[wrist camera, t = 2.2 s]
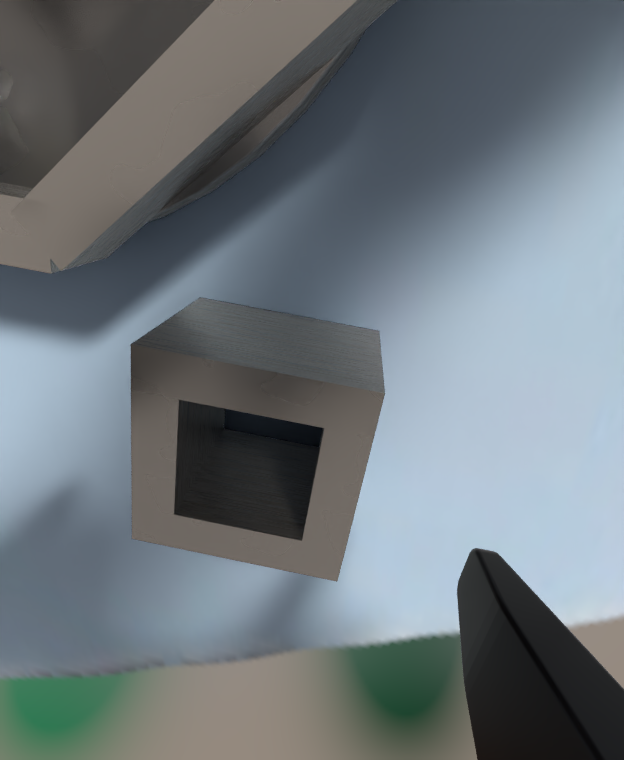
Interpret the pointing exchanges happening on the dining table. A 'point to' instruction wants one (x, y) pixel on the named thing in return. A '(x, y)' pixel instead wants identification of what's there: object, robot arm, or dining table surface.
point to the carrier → (147, 108)
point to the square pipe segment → (248, 451)
